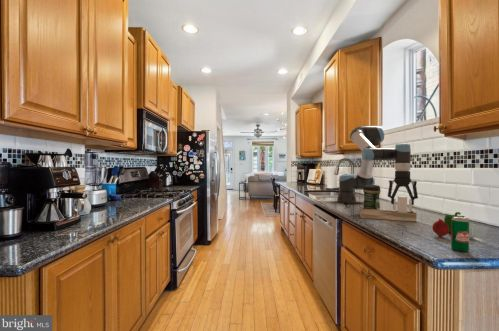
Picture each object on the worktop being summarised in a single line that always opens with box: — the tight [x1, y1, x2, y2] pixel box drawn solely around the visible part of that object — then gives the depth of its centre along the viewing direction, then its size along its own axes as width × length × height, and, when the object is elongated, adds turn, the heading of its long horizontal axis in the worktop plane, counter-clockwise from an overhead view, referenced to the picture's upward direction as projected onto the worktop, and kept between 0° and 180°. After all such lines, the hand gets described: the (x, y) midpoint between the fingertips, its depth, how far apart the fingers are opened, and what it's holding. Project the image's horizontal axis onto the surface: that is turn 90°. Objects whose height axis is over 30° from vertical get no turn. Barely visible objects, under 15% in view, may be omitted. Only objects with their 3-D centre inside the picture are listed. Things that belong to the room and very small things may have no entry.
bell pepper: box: [443, 211, 465, 234], centre depth 114 cm, size 8×8×10 cm
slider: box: [396, 195, 408, 213], centre depth 143 cm, size 4×4×10 cm
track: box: [359, 206, 418, 222], centre depth 146 cm, size 10×28×5 cm, turn 71°
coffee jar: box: [362, 184, 381, 210], centre depth 159 cm, size 10×8×19 cm
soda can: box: [450, 215, 470, 253], centre depth 91 cm, size 5×5×12 cm
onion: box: [432, 218, 450, 238], centre depth 108 cm, size 6×6×8 cm
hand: (402, 210), depth 143 cm, fingers open, 7 cm apart
